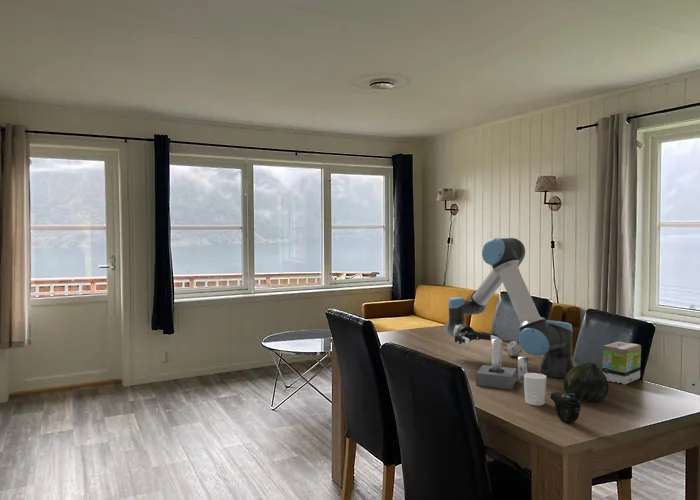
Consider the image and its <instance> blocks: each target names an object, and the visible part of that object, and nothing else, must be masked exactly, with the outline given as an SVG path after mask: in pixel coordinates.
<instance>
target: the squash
mask: <svg viewBox="0 0 700 500" xmlns="http://www.w3.org/2000/svg"><path fill="white" fill-rule="evenodd" d="M609 385H610V384H609V381H607V379H606V376H605V375H604V373H603V372H602V370H601V368H600V367H599V366H598V364H597V363H595V362H587V363H582V364H579V365H577V366H575V367H574V368H572V369H571V370H570V371H569V372H568V373H567V375H566V376H565V378H563V387H564V388H563V389H564V392H565V393H566V395H567V396H569V397H570V395H569V393H574V394H575V396H574V397H575V398H576V399H577V400H579V401H580V400H581V401H584V400H585V401H587V402H592V403H599V402H600V401H603V400H604V399H605V398H606V397H607V395H608V393H609V390H610V389H609V387H610V386H609Z"/></svg>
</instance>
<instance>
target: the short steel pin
mask: <svg viewBox="0 0 700 500" xmlns="http://www.w3.org/2000/svg"><path fill="white" fill-rule="evenodd" d="M517 356H518V355H517ZM528 366H529V359H528V356H525V355H519V356H518V357H517V379H519V380H522V381H524V374H526V373H529V371H528V370H529V368H528Z"/></svg>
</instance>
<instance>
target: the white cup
mask: <svg viewBox="0 0 700 500" xmlns="http://www.w3.org/2000/svg"><path fill="white" fill-rule="evenodd" d="M547 377H548V376H545V375H543V374H541V373H538V372H537V373H536V372H528V373H526V374H524V380H523V391H524V392H523V393H524V402H525V404H528V405H530V406H531V405H532V406H539V407H540V406H544V405H545V403H546V402H545V401H546V391H547Z"/></svg>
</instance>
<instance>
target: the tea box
mask: <svg viewBox="0 0 700 500" xmlns="http://www.w3.org/2000/svg"><path fill="white" fill-rule="evenodd" d="M602 350H603V351H602V368H601V369H602V370H601V371H602V372H603V373H604V375H605V376H606V379H607V382H610V381H611V382H612V383H615V382H617V383H616V384H619V383H622V384H621V385H627V384H629V383H631V382H634V381H636V380H638V379H640V378H641V361H642V345H641V344H638V343H632V342H631V343H630V342H624V341H615V342H610V343H608V344H605V345H603V349H602ZM611 382H610V383H611Z"/></svg>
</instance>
